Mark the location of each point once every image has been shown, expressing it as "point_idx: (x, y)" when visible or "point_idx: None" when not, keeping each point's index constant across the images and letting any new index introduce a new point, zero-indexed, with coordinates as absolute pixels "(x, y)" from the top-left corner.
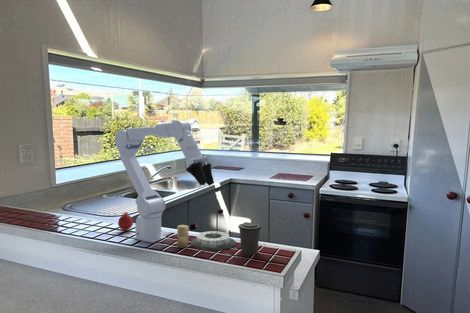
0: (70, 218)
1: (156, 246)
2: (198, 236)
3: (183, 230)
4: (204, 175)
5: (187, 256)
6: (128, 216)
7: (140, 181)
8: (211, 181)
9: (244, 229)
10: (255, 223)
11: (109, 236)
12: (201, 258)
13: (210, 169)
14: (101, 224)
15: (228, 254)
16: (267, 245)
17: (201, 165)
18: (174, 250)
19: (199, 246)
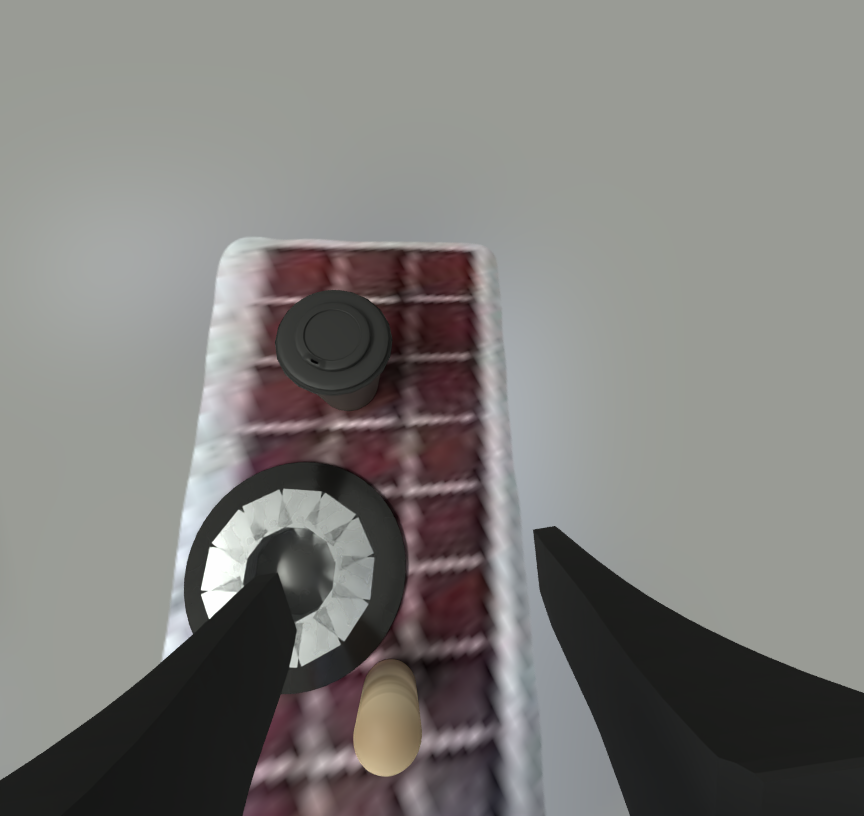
0: None
1: (462, 809)
2: (333, 638)
3: (413, 702)
4: (569, 575)
5: (499, 577)
6: None
7: None
8: (270, 608)
9: (388, 347)
10: (303, 316)
11: None
12: (490, 514)
13: (89, 753)
14: None
15: (404, 442)
16: (237, 348)
17: (719, 695)
18: (466, 678)
19: (379, 596)
